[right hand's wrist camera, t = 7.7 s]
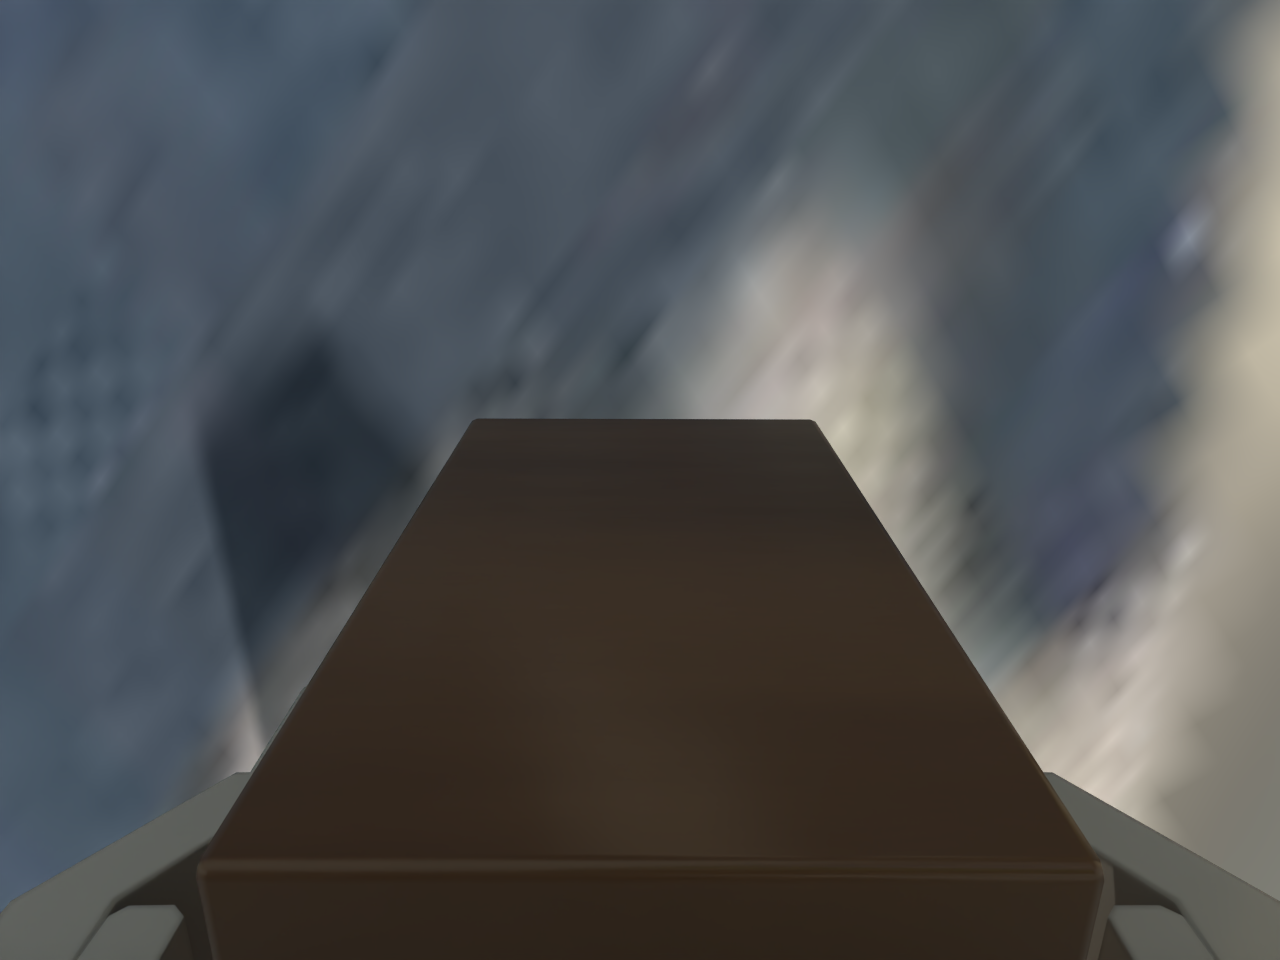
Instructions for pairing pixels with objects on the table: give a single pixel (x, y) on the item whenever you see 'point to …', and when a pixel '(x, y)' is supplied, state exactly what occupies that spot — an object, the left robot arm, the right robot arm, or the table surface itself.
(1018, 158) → the table surface
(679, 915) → the bar
